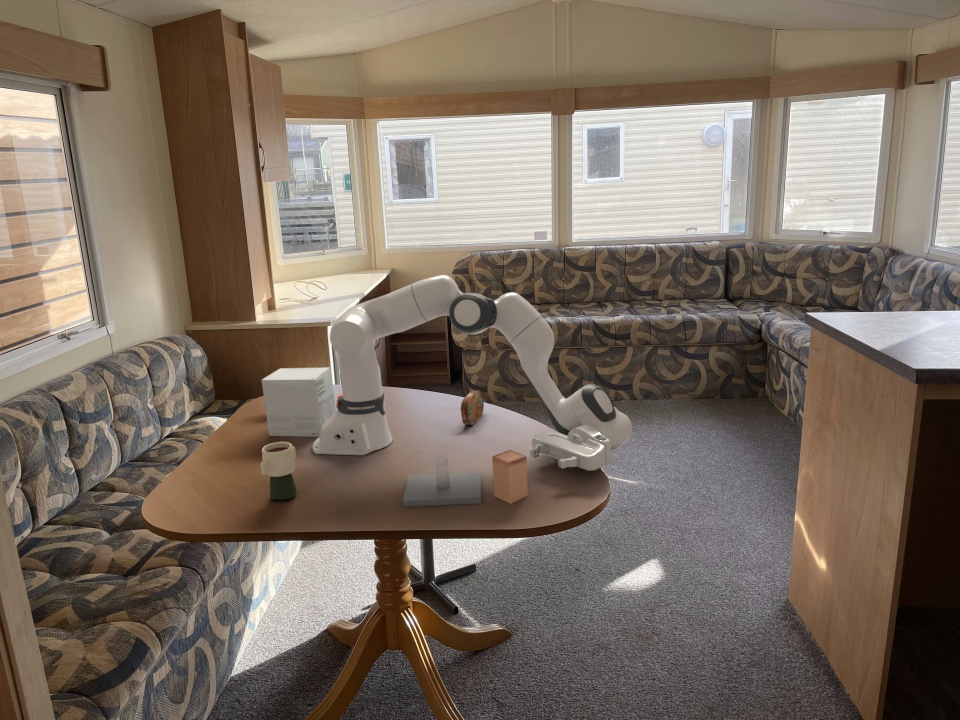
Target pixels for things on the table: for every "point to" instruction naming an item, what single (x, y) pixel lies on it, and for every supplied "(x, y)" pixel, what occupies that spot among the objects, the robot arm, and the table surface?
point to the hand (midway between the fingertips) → (545, 459)
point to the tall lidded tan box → (510, 476)
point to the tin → (472, 407)
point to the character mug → (279, 469)
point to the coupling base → (443, 496)
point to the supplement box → (298, 401)
